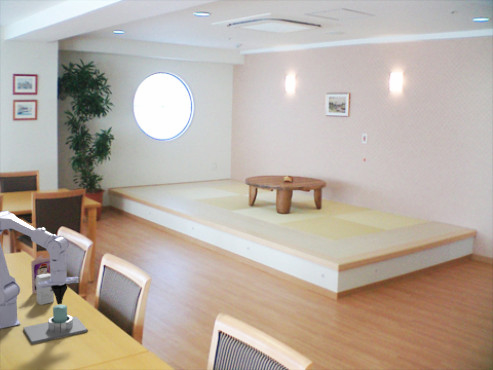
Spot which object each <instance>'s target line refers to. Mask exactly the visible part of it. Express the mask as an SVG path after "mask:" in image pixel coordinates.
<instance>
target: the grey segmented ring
mask: <svg viewBox="0 0 493 370" xmlns="http://www.w3.org/2000/svg"><path fill="white" fill-rule="evenodd" d="M72 317H73V316H72V315H69V314H67V321H66V322H62V323H54V321H53V316H52V317H49V318H48V320H47V321H48V329H49V330H50V331H53V332H63V331H67V330H69V329H71V328H72V327H73V318H72Z"/></svg>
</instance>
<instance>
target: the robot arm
mask: <svg viewBox="0 0 493 370" xmlns="http://www.w3.org/2000/svg"><path fill="white" fill-rule="evenodd" d="M9 229H13V230H14V231H17V232H19V233H20V234H23V235H26V236H28V237H29V238H30V239H31V240H30V241H31V242H33V243H35V244H37V245H38V246H40V247H42V248H44V249H46V251H47V253H48V254H49V257H50V274H51V280H47V281H44V282H39V283H38V288H39V289H42V288H46V287H51V288H52V290H53V292H54V298H55V301H56V303H57V305H63V300H64V296H65V293H66V292H67V290H68V285H69V284H75V283H76V284H77V283H78V284H79V283H80V280H79V279H80V278H79V277H78V276H67V250H68V249H69V245H70V243H69V241H68V238H66V237H65V236H64V235H59V236H58V235H57V234H55V233H54V234H53V233H51V232H50V231H47V229H46V228H45V227H38V228H35V227H33V226H32V225H30V224H28V223H27V222H25V221H24V220H22V219H20V218H18V217H17V216H16V214H14V213H12V212H10V211H8V210H1V211H0V236H1V235H2V233H3V232H4V230H9ZM20 287H21V286H20V285H19V284H18V283H17V281H16V278H15V277H13V276H12V275H10V272H9V267H8V264H7V261H6V257H5V254H4V250H3V247H2V242H1V241H0V329H5V328H9V327H15V326H19V325H21V322H20V320H19V318H18V306H17V305H18V303H17V302H18V301H17V300H18V296H19V295H20V293H21V288H20Z"/></svg>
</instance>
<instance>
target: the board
mask: <svg viewBox="0 0 493 370" xmlns="http://www.w3.org/2000/svg"><path fill="white" fill-rule="evenodd" d="M72 318H73V327H72V328H71V329H69V330H67V331H63V332H53V331H50V330H49V329H48V322H42V323H38V324H33V325H29V326H23V331H24V333H25V334H26V336H27V338H28V339H29V341H30V343H31V345H35V344H39V343H43V342H49V341H51V340H56V339H60V338H65V337H70V336H75V335H78V334H83V333H84V334H85V333H87V332H88V327H86V326H85V325H84V323H82V320H80V319H79V318H78V317H77V316H76V315H75V316H72Z"/></svg>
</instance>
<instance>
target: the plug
mask: <svg viewBox="0 0 493 370" xmlns="http://www.w3.org/2000/svg"><path fill="white" fill-rule="evenodd" d="M67 315H68V306H67V305H66V304H57V305H54V306H53V307H52V317H53V321H54V323H62V322H66V321H67Z"/></svg>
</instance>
